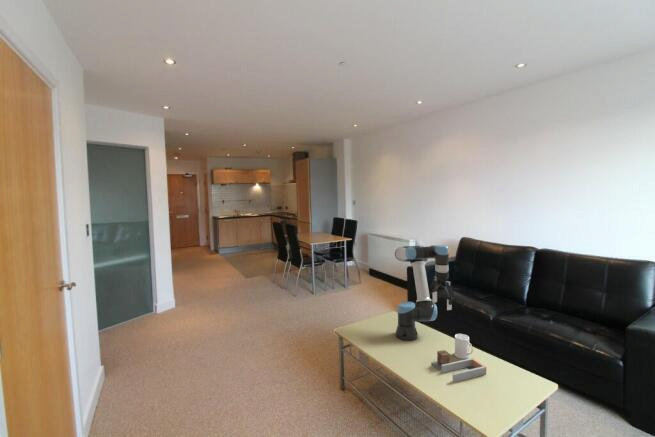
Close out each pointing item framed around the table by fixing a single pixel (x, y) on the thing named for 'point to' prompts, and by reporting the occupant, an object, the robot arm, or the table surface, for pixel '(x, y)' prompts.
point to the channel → (471, 364)
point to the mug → (462, 346)
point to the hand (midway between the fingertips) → (441, 305)
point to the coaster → (436, 365)
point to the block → (443, 357)
